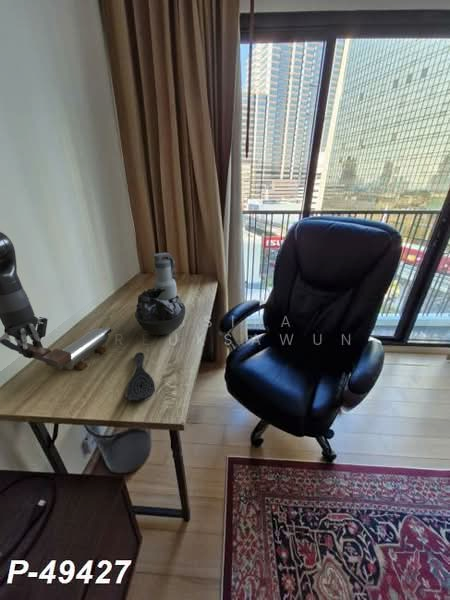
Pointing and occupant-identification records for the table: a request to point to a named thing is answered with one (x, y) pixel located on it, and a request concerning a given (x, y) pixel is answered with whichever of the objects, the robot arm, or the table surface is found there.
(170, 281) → the water bottle
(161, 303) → the bin with black bag
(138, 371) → the hairbrush
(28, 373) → the table surface
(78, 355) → the steel bottle
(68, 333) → the table surface
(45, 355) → the scrub brush
